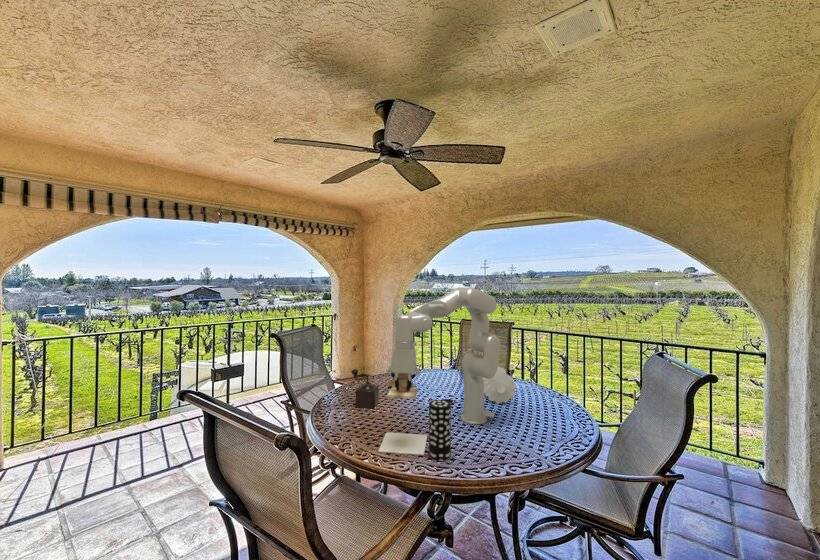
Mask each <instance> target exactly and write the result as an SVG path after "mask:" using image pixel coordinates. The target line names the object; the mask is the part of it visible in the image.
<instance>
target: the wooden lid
mask: <svg viewBox="0 0 820 560" xmlns="http://www.w3.org/2000/svg"><path fill="white" fill-rule="evenodd" d="M407 382H408V378H404V377H403V378H399V379H398V390H396V387H395V386H392V387H391V388H390V389H389V391H388V393H387V395H386V396H387V398H393V399H411V400H412V399H413V400H415V399H416V397H417V394H418V391H419V388H418V387H414V386H413V387H411V388H410V390H409V391H407Z"/></svg>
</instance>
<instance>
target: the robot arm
mask: <svg viewBox="0 0 820 560" xmlns="http://www.w3.org/2000/svg"><path fill="white" fill-rule="evenodd" d="M497 305H498V304H497V300H496V298H494V297H493V296H492V295H491V294H489V293H487V292H484V291H482V290H480V289H477V288H474V287H465V286H464V287H463V286H462V287H456V288H454V289H452V290H451V291H449V292H447V293H446V294H444V295H443V296H441V297H440V298H438V299H435V300H431V301H430V302H426V303H423V304H421V305H418V306H416V307H415V308H414V307H413V309H411V310H409V311H408V312H407V313H406V314H397V315H396V316H395V319H394V347H393V349H392V352H391V361H390V365H389V366H388V369H387V370H386V373H387V374H389V376H390V377H392V378H393V380H395V387H396V390H398V379H399V378H398V375H399V373H406V374H408V378H409V379H408V382H407V391H409V390H410V388H411V385H412V383H413V382H412V381H413V380H414V379H415V378H416V377H417V376H419V375H420V374H421V371H420V369H419V368H418V366H417V353H416V348H415V347H417V342H415V341H414V333H415V332H416V333H426V332H429V331H430V330H431V329H432V326H433V319H437V318H444V317H447V316H449V315H451V314H452V313H454V312H455V311H456V310H458V309H460V308H462V307H465V309H466V311H467V312H468V313H469V316H470V318H471V326H470V331H469V339H468V346H469V348H470V349H471V350H473V351H475V352H479V353H483V354H482V355H481V354H478V353H474V352H470V353H467V354H465V355H464V356H463V357H462V361H461V365H462V366H461V367H462V368H461V369H462V372H463V413H461V415H460V420H461V421H462V422H463V423H466V424H470V425H483V424H485V423H487V422H488V418H495V413H494V412H491V411H486V410H485V393H484V380H483V377H484V378H492V377H494V376H495V374H496V372H497V368H498V366H499V362H500V361H499V360H500V355H501V348H502V347H501V345H502V343H501V340H500V338H499V337H498V336H497V334H494V333H489V331H490V319H489V316H488V315H491V314H493V313H494V312H496V310H497Z"/></svg>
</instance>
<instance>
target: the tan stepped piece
mask: <svg viewBox="0 0 820 560" xmlns="http://www.w3.org/2000/svg"><path fill="white" fill-rule="evenodd" d="M403 377H404V378H408V374H406V373H399V375H398V378H403ZM408 379H409V378H408ZM387 386H388V387H391V388H392V386H395V380H394V379H393V380H389V381H388V383H387ZM411 387H414V383H413V382H412V385H411Z"/></svg>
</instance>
